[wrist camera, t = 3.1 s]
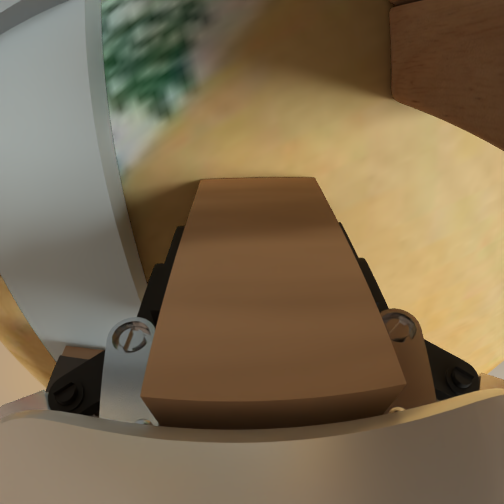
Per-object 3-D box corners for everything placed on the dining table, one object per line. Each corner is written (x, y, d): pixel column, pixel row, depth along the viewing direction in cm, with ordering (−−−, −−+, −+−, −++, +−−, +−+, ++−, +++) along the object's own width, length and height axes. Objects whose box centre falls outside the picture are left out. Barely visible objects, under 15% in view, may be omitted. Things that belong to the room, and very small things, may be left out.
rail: (-40, 28, 5) (-88, 39, 2) (103, -51, 5) (57, -76, 2) (113, 413, 22) (106, 443, 20) (199, 422, 22) (196, 455, 20)
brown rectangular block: (201, 179, 10) (140, 396, 4) (314, 177, 10) (406, 383, 4) (213, 293, 13) (198, 474, 7) (302, 291, 14) (334, 468, 7)
